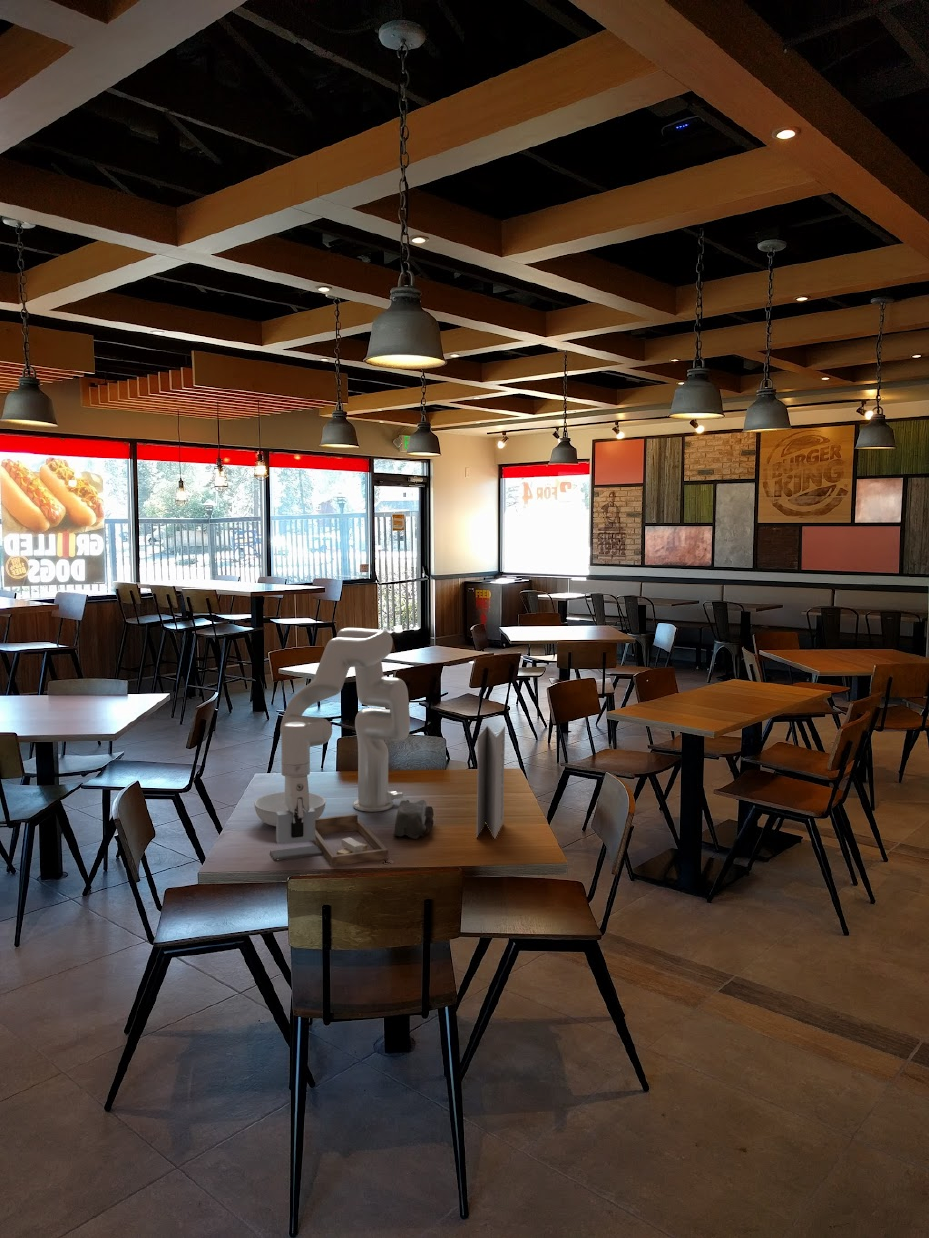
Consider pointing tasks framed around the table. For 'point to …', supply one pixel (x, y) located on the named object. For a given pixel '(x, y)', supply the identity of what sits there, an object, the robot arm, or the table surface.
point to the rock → (413, 819)
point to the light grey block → (285, 827)
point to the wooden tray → (343, 825)
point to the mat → (296, 852)
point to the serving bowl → (283, 806)
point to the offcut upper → (352, 845)
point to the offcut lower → (346, 851)
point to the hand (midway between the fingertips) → (295, 834)
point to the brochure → (490, 780)
